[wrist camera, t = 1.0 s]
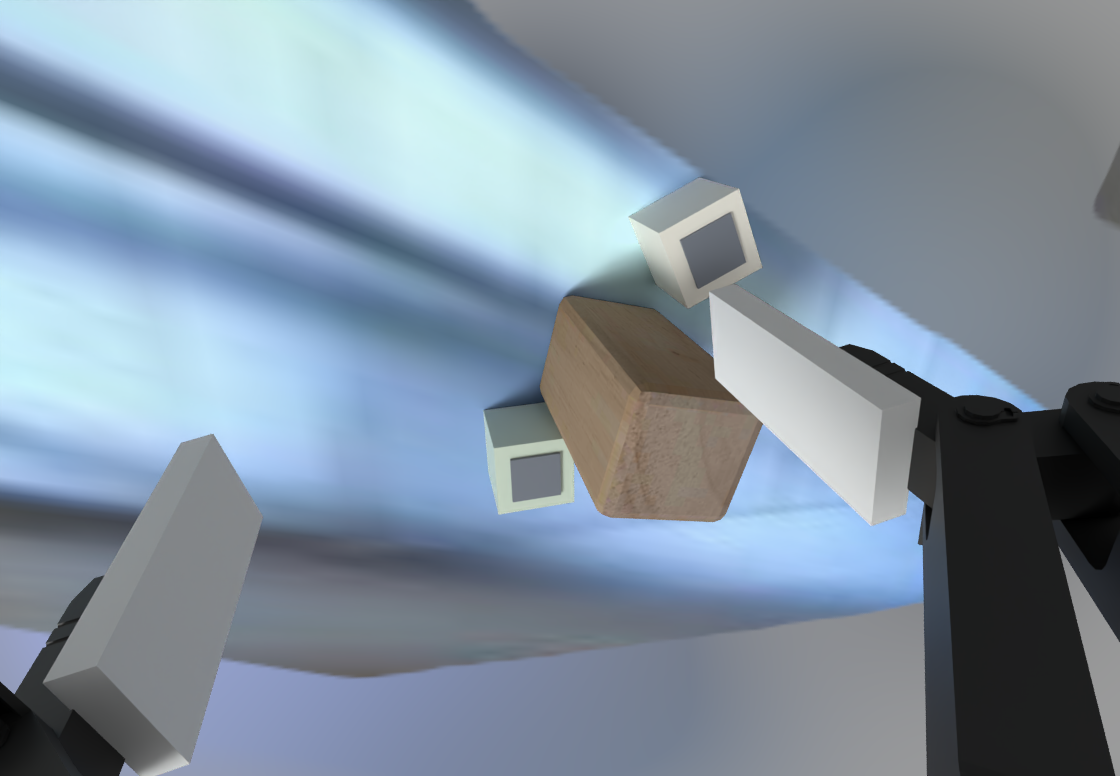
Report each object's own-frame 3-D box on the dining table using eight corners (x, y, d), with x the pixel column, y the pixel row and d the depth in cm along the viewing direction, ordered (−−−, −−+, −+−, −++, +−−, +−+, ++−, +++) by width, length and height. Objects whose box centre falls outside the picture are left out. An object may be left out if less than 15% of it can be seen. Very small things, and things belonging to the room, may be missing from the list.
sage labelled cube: (483, 409, 56) (494, 450, 50) (555, 400, 58) (574, 438, 51) (488, 471, 59) (499, 516, 53) (556, 461, 61) (574, 503, 55)
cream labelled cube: (628, 216, 52) (660, 234, 45) (698, 177, 52) (741, 189, 45) (655, 284, 55) (689, 310, 49) (722, 247, 55) (764, 268, 49)
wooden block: (659, 307, 56) (778, 404, 39) (630, 401, 60) (726, 528, 42) (559, 290, 53) (639, 387, 35) (535, 390, 57) (596, 523, 39)
